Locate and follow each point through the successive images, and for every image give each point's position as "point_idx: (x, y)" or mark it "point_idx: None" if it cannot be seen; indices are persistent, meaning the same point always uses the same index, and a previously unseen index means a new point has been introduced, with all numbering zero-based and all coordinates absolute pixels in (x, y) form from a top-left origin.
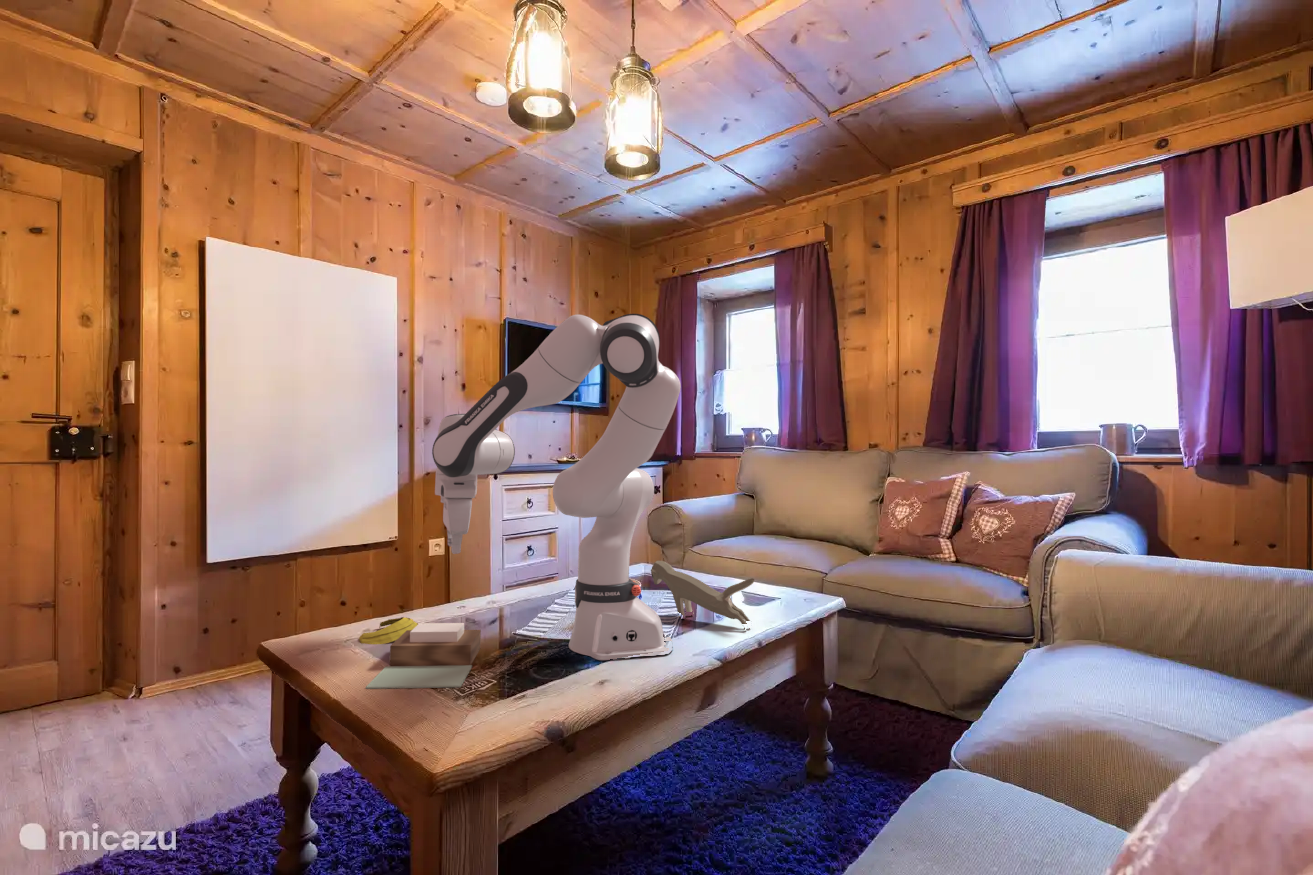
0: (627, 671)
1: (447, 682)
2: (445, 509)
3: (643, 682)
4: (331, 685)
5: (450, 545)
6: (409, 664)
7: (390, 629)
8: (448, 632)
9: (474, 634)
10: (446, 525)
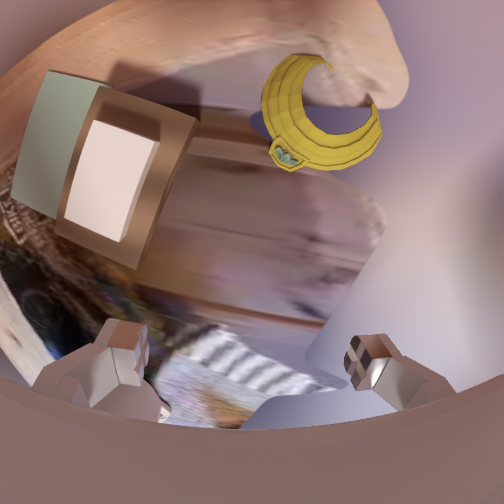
0: (39, 370)
1: (20, 181)
2: (476, 501)
3: (18, 364)
4: (85, 25)
5: (352, 343)
6: None
7: (285, 98)
8: (68, 199)
9: (108, 251)
10: (237, 453)
